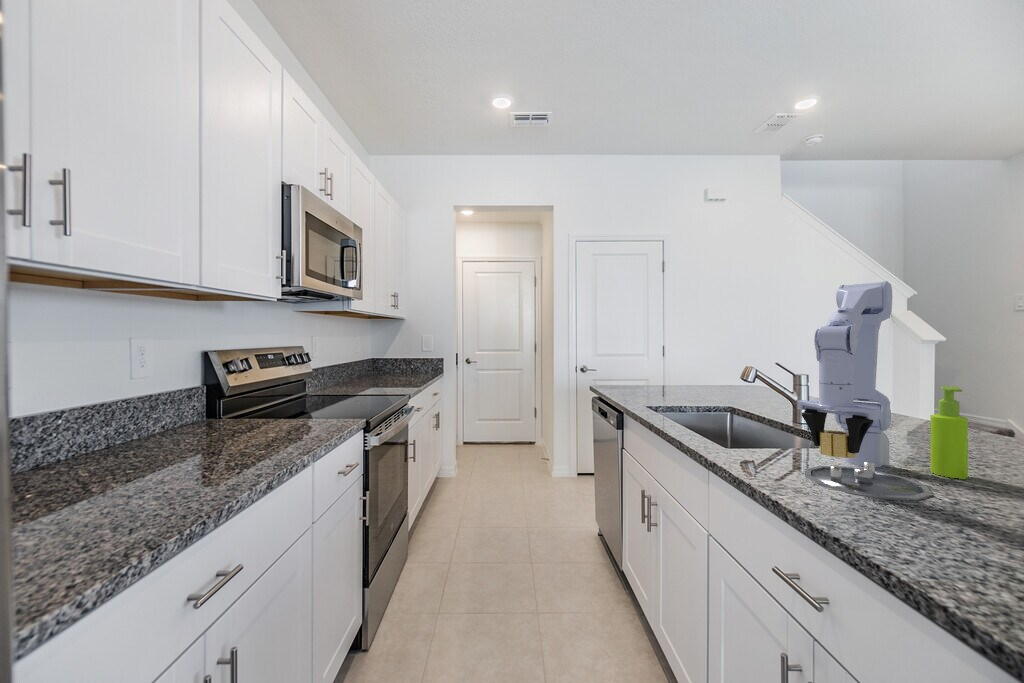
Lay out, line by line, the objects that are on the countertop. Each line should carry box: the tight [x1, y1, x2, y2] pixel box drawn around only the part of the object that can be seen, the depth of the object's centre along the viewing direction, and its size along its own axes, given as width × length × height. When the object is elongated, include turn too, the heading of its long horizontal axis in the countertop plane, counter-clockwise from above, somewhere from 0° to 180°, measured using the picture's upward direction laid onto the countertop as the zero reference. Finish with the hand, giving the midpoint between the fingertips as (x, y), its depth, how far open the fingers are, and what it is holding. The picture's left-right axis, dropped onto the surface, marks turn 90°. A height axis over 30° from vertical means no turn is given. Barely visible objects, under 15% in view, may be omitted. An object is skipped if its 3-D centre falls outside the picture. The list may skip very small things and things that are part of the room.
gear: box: [818, 429, 856, 459], centre depth 89 cm, size 6×6×4 cm
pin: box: [830, 465, 842, 483], centre depth 89 cm, size 2×2×4 cm
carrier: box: [804, 462, 933, 501], centre depth 89 cm, size 20×20×4 cm
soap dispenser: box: [929, 385, 969, 480], centre depth 96 cm, size 6×7×20 cm
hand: (835, 449), depth 89 cm, fingers closed on gear, 6 cm apart
